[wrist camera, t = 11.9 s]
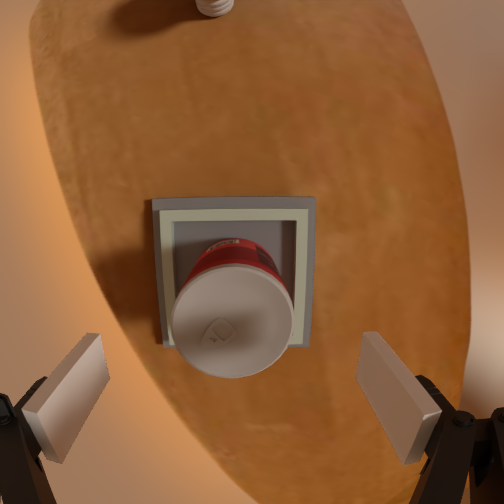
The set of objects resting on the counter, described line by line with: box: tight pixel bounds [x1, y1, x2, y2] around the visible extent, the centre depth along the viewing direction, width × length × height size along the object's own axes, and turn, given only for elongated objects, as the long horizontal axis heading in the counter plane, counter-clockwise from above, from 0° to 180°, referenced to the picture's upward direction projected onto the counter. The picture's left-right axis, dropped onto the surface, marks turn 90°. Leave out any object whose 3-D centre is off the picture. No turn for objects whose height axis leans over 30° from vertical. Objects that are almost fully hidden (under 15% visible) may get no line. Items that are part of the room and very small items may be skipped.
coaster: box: [152, 196, 316, 348], centre depth 30 cm, size 15×15×2 cm
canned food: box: [170, 238, 295, 378], centre depth 25 cm, size 8×8×11 cm
